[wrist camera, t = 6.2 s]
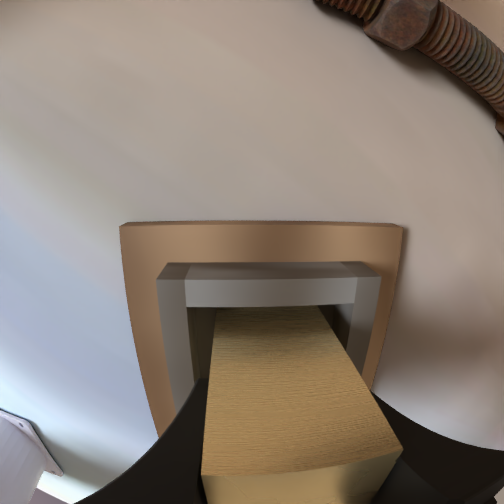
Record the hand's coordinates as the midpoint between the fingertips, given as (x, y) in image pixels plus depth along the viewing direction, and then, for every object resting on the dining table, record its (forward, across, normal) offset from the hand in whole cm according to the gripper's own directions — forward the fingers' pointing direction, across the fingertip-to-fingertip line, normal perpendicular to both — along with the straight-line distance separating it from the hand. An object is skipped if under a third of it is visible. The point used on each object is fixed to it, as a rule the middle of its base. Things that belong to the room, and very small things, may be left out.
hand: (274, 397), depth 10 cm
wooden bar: (+3, 0, 0) cm, 3 cm away
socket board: (+4, 0, +6) cm, 7 cm away
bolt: (+5, -9, -15) cm, 18 cm away
